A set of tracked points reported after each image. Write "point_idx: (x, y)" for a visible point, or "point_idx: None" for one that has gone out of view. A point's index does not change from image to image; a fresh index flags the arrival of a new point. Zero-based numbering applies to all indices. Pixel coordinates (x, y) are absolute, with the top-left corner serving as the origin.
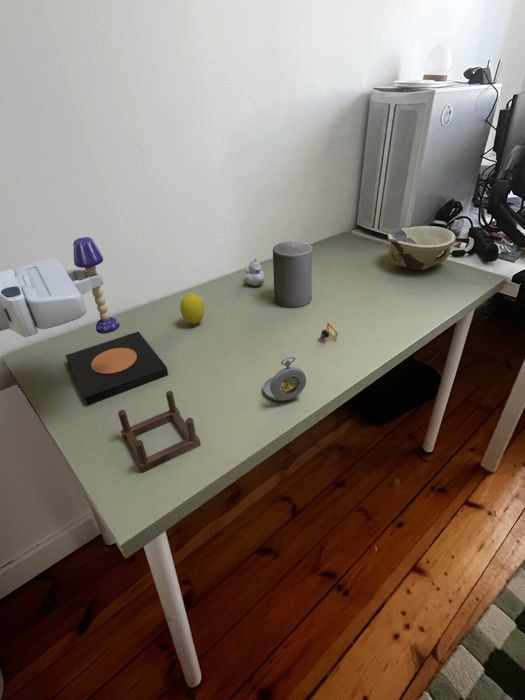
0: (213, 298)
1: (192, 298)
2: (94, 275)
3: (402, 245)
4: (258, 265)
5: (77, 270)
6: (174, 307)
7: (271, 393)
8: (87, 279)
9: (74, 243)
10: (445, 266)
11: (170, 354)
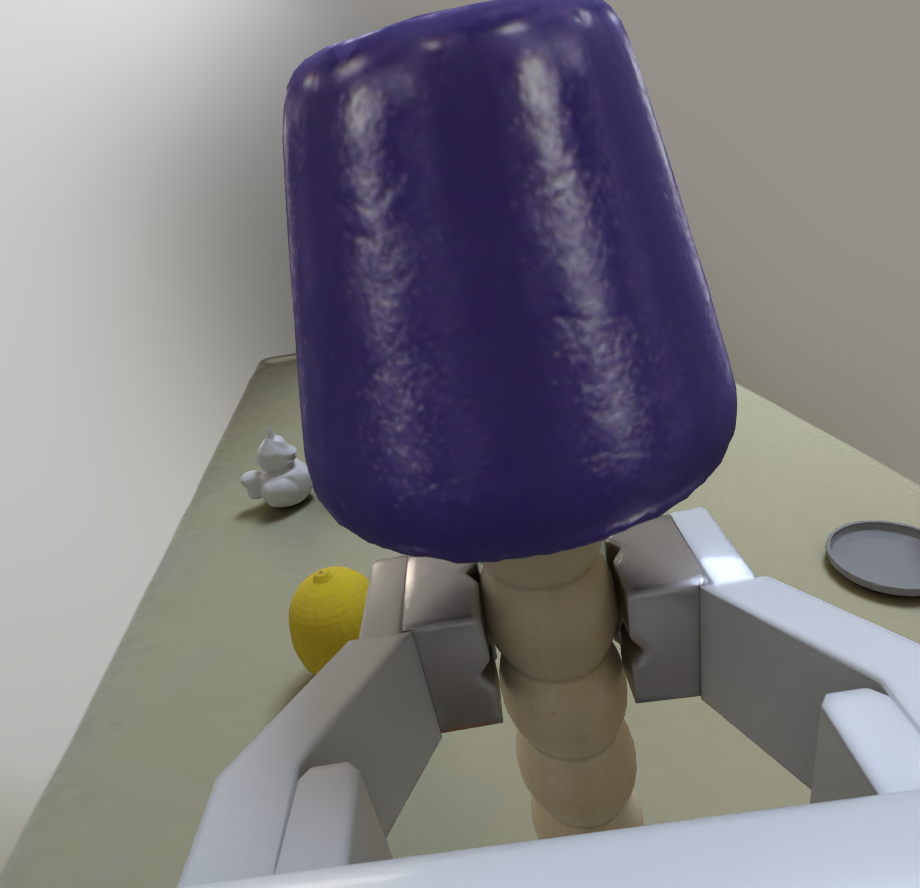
0: (255, 594)
1: (347, 579)
2: (661, 542)
3: None
4: (286, 442)
5: (337, 704)
6: (181, 710)
7: (907, 583)
8: (807, 600)
9: (496, 32)
10: None
11: (516, 816)
